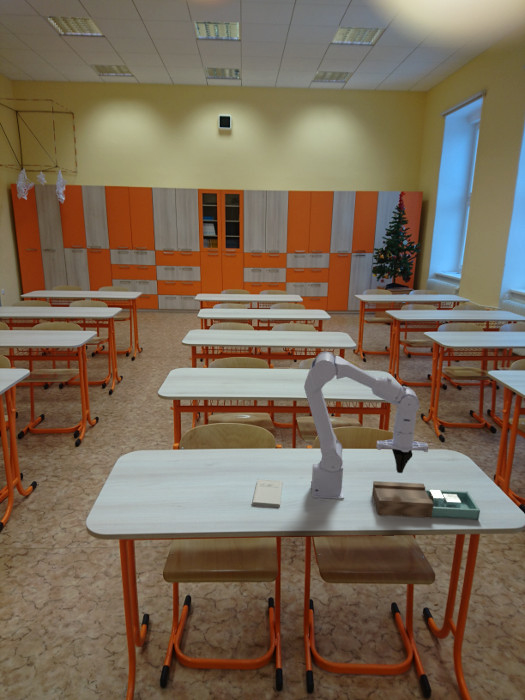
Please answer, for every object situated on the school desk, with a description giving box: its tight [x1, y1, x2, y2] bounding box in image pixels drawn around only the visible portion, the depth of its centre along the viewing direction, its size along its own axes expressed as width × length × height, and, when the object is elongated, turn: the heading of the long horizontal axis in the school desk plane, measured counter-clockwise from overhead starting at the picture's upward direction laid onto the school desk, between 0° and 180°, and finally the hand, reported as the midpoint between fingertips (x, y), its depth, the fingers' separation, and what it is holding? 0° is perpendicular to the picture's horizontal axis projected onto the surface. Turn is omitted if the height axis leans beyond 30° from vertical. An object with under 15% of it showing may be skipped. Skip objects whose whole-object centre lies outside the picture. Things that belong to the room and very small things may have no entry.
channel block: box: [371, 480, 433, 519], centre depth 130 cm, size 15×10×5 cm, turn 86°
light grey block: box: [443, 494, 461, 508], centre depth 129 cm, size 4×4×3 cm
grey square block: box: [428, 489, 444, 507], centre depth 129 cm, size 4×4×3 cm
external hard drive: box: [252, 479, 284, 508], centre depth 135 cm, size 2×8×12 cm
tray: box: [425, 488, 481, 520], centre depth 129 cm, size 13×9×3 cm
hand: (399, 471), depth 131 cm, fingers closed
